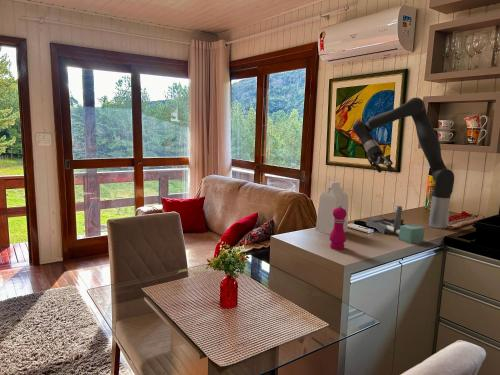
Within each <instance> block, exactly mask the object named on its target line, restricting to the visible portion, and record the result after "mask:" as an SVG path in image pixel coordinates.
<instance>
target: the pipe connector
mask: <svg viewBox="0 0 500 375" xmlns="http://www.w3.org/2000/svg"><path fill="white" fill-rule="evenodd" d="M378 217H379V218H382V219H385V221H386V222H389V223H392V224H394V220H395V218H393V219H388V218H384V217H381V216H378ZM404 222H405V220H404V219H402V218H401V224H400V226H402V225H406V224H405V223H404Z"/></svg>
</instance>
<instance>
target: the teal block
mask: <svg viewBox="0 0 500 375" xmlns="http://www.w3.org/2000/svg"><path fill="white" fill-rule="evenodd" d="M425 230H426V228H425V227H424V226H421V225H417V224H414V223H411V224H405V225H402V226H400V232H399V234H398V240H399V241H401V242H405V243H407V244H416V243H422V242H424V240H425V239H424V237H425Z"/></svg>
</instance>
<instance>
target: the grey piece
mask: <svg viewBox="0 0 500 375" xmlns="http://www.w3.org/2000/svg"><path fill="white" fill-rule="evenodd" d="M402 213H403V206H401V205H395V213H394V219H395V220H394V227H392V226H388V225H387V226H388V227H387V230H388V231H391V232H393V234H394V235H399V232H400V224H401V219H402Z"/></svg>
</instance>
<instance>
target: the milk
mask: <svg viewBox="0 0 500 375" xmlns="http://www.w3.org/2000/svg"><path fill="white" fill-rule="evenodd" d="M318 200H319V201H318V207H317V215H316V223H315V231H316V232H320V233H324V234H326V235H330V234H331V232H332V230H333V228H334V221H333V220H334V219H333V218H334V216H333V210H334V209H335V208H338V205H339V204H341V205H342V208H343V209H345V210H346V217H345V218H344V219H345V222H344V224H343V229H344V232H345V233H347V232H348V225H349V224H348V220H349V219H348V218H349V197H348V194H347V193H346V192H345V191H344V189H343V188H342V187H341V183H340V181H331V182H330V183H329V186H328V188H327V189H326V190H325V191H324V192H322V193H321V194H320V196H319V199H318Z"/></svg>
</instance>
